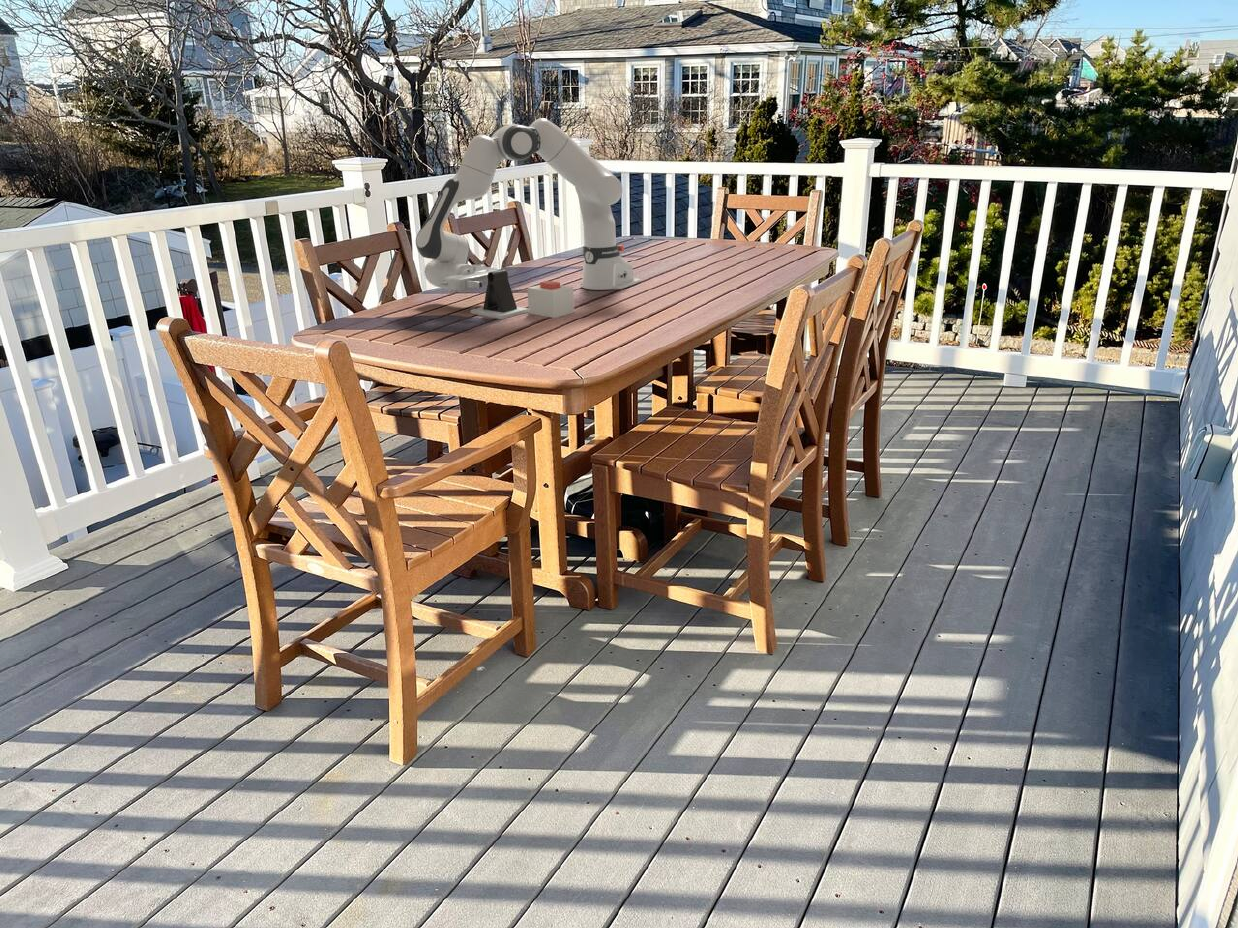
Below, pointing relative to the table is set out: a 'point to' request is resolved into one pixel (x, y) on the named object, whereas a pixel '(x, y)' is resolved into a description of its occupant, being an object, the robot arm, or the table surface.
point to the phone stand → (499, 293)
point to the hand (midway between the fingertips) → (491, 282)
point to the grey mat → (499, 314)
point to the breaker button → (550, 285)
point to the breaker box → (551, 301)
